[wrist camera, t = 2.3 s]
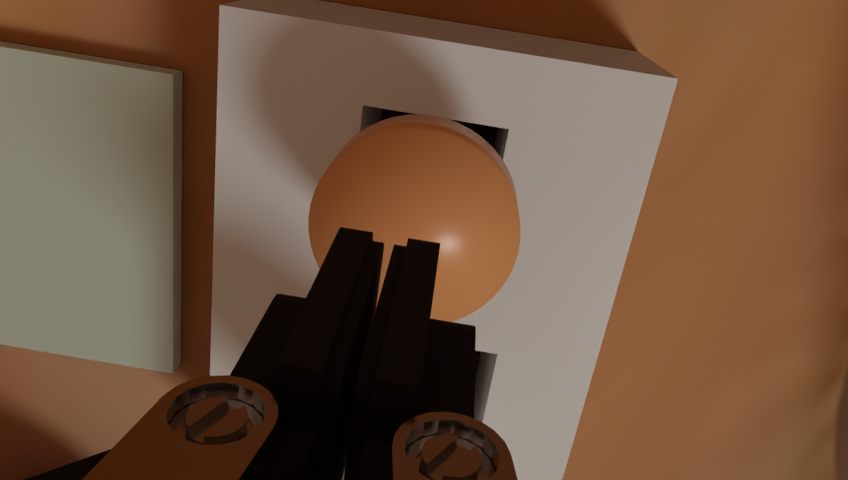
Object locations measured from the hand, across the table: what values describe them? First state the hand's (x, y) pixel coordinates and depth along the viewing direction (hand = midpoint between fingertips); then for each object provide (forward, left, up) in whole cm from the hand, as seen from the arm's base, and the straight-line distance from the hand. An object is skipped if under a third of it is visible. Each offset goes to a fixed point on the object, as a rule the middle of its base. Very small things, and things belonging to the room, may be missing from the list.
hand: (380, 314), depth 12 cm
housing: (-6, 0, -13) cm, 15 cm away
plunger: (-1, 0, -11) cm, 11 cm away
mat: (-6, +14, -13) cm, 20 cm away
